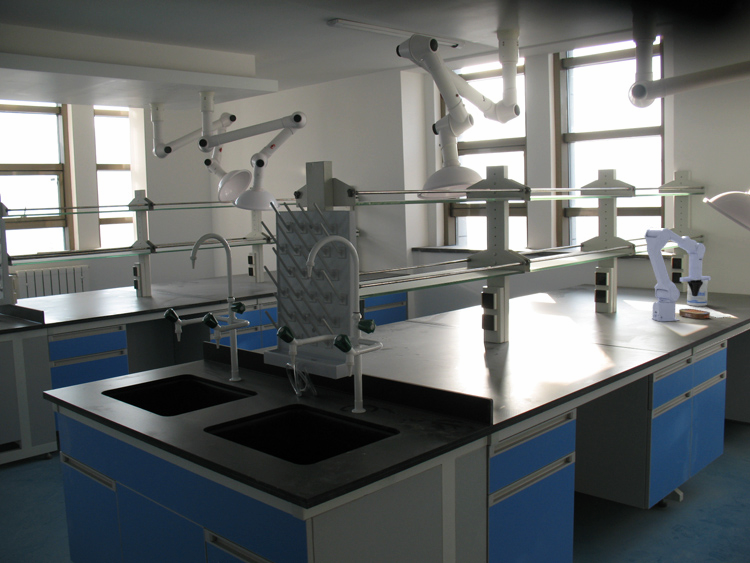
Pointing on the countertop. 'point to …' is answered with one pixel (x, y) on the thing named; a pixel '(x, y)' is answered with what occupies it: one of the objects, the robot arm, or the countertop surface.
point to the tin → (694, 313)
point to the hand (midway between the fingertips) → (694, 296)
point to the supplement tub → (701, 297)
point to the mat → (717, 315)
